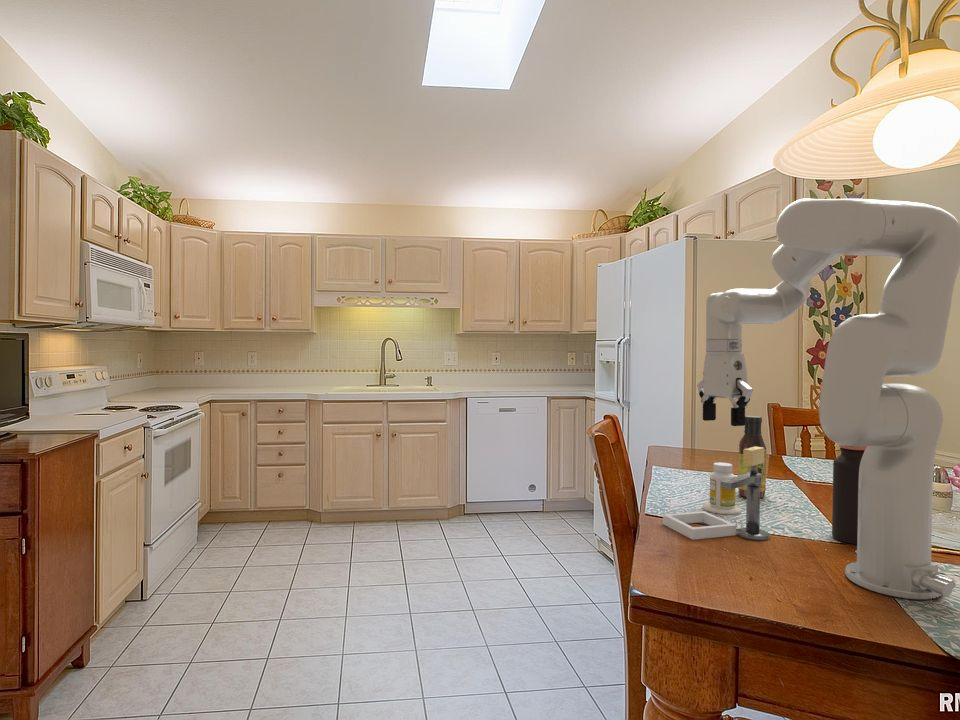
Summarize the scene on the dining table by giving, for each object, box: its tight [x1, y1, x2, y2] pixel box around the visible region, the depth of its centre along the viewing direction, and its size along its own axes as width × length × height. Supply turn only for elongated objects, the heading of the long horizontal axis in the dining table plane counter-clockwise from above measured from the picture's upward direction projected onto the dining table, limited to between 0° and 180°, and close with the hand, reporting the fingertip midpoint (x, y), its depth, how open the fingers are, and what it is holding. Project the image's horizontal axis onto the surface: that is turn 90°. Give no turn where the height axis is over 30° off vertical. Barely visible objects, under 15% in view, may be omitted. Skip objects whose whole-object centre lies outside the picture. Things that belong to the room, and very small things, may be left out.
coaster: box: [702, 500, 742, 515], centre depth 133 cm, size 8×8×1 cm
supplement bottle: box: [709, 462, 736, 509], centre depth 132 cm, size 5×5×10 cm
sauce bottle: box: [737, 415, 767, 499], centre depth 144 cm, size 7×6×20 cm
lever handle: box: [721, 446, 764, 490], centre depth 112 cm, size 3×14×7 cm, turn 130°
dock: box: [662, 510, 737, 541], centre depth 118 cm, size 10×10×2 cm
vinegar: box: [831, 444, 867, 546], centre depth 112 cm, size 7×7×20 cm
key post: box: [735, 484, 771, 542], centre depth 115 cm, size 6×6×10 cm
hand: (723, 422), depth 132 cm, fingers open, 9 cm apart
